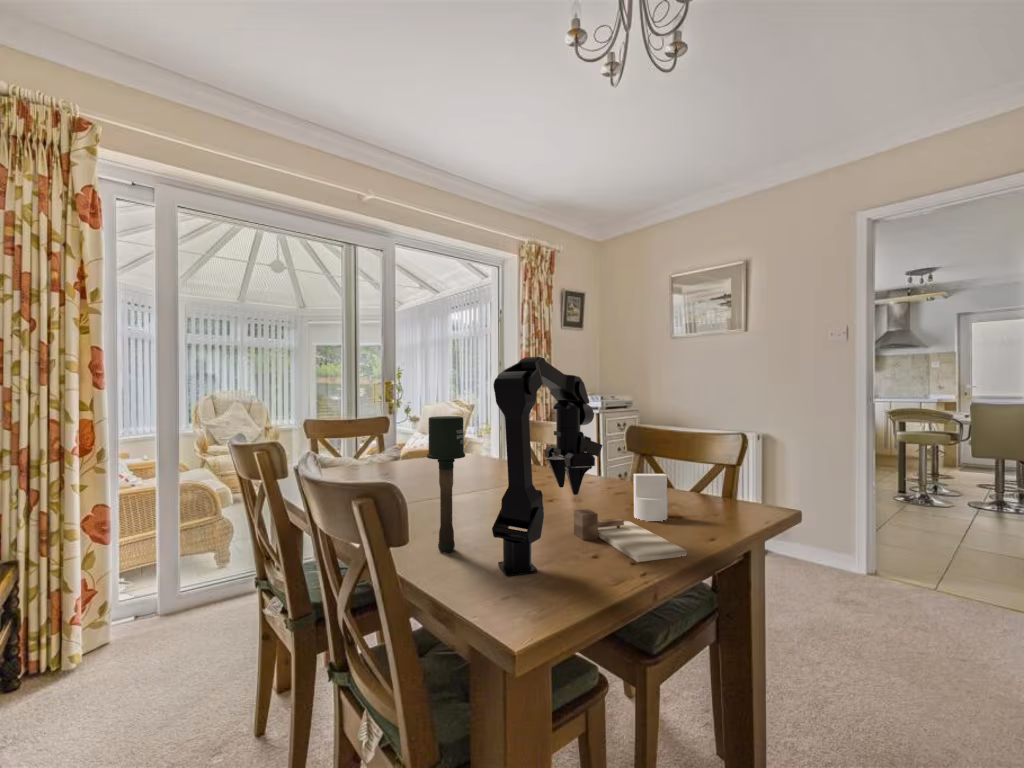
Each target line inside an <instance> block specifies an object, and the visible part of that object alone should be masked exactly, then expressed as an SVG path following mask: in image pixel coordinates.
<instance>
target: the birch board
mask: <svg viewBox="0 0 1024 768" xmlns="http://www.w3.org/2000/svg"><path fill="white" fill-rule="evenodd" d="M598 538H600V539H601V540H602V541H604V542H606V543H607V544H609V545H610V546H611V547H614V548H615V549H616V550H618V551H620V552H621V553H623V554H624V555H626V556H627V557H629V558H630V559H632V560H634V561H635V562H636V563H640V562H641V563H642V562H648V561H655V560H665V559H672V558H673V559H674V558H680V557H681V556H682V557H686V556H687V554H688V551H687V550H686V549H685V548H683V547H680V546H679V545H677V544H675V543H672V542H671V541H669V540H667V539H665V538H663V537H661V536H660V535H658V534H655V533H654V532H651V531H649V530H648V529H645V528H643V527H641V526H639V525H637V524H635V523H633V522H631V521H630V520H624V525H620V528H617V526H610V527H599V528H598Z"/></svg>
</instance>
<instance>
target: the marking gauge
mask: <svg viewBox="0 0 1024 768" xmlns="http://www.w3.org/2000/svg"><path fill="white" fill-rule="evenodd" d="M624 521H625V520H624V519H622V518H619V517H618V518H607V519H598V513H597V512H595V511H593V510H592V509H589V508H583V509H574V510H573V535H574V536H576V537H577V538H579V539H580V540H581V541H589V540H598V539H599V537H598V528H599V527H610V526H617V528H620V525H624Z"/></svg>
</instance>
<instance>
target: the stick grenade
mask: <svg viewBox="0 0 1024 768" xmlns="http://www.w3.org/2000/svg"><path fill="white" fill-rule="evenodd" d="M464 443H465V442H464V417H463V416H458V415H457V416H455V415H454V416H453V415H452V416H451V415H448V416H447V415H445V416H444V415H443V416H442V415H440V416H439V415H437V416H430V417H429V418H428V453H427V454H426V458H427V459H429V460H437V463H438V483H439V491H440V492H439V493H440V494H439V496H440V497H439V498H440V499H439V501H440V503H439V504H440V509H439V513H440V516H439V517H440V519H439V520H440V522H439V523H440V527H439V530H438V531H439V532H438V542H437V543H438V544H437V549H438V550H439V552H440V551H441V553H444V552H447V553H451V551H452V552H453V551H454V550H455V546H456V545H455V530H454V526H453V486H454V466H455V465H454V463H455V461H456V460H458V459H463V458H465V457H466V453H465V452H464V451H465V450H464V449H465V447H464V446H465V445H464Z"/></svg>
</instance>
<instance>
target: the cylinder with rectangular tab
mask: <svg viewBox="0 0 1024 768" xmlns="http://www.w3.org/2000/svg"><path fill="white" fill-rule="evenodd" d="M633 517H634V518H635V519H636V518H637V519H636V520H638V519H640V520H639V521H642V520H645V521H644V522H648V521H661V522H664V521H663V520H665V521H667V520H668V476H667V474H666V473H633ZM666 519H667V520H666Z"/></svg>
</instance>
